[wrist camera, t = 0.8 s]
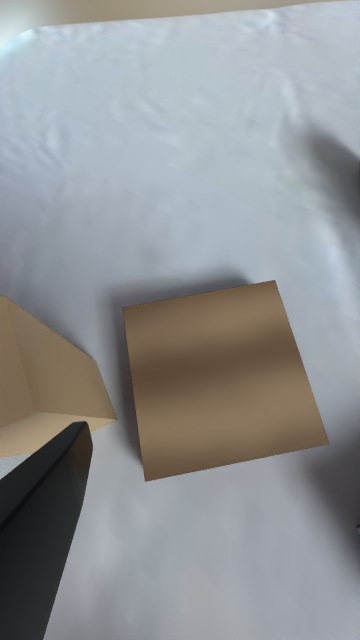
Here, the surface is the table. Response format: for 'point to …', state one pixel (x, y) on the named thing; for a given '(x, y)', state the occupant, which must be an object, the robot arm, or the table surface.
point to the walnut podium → (218, 381)
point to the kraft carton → (44, 384)
